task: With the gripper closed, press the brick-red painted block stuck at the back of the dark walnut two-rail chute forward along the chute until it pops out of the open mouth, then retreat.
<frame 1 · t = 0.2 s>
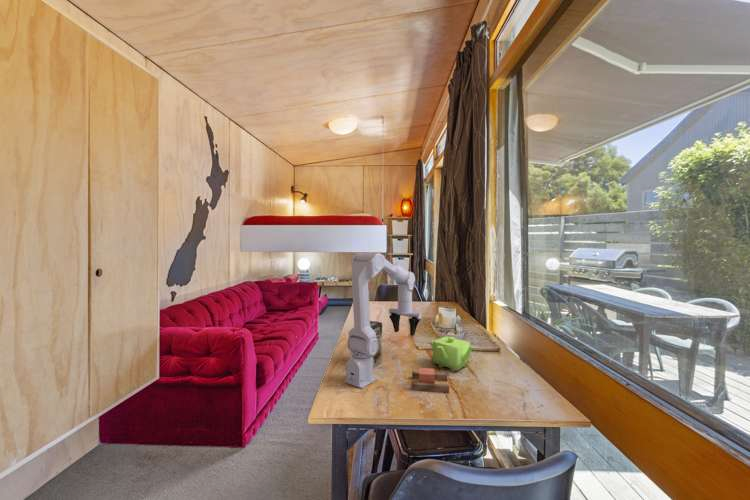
hand: (404, 333, 136), 10 cm above the table, fingers open, 7 cm apart
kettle: (450, 367, 127), on the table
block: (426, 377, 112), point 2 cm above the table, slide at 0.0 cm
coffee box: (369, 365, 129), on the table
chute: (426, 384, 112), on the table
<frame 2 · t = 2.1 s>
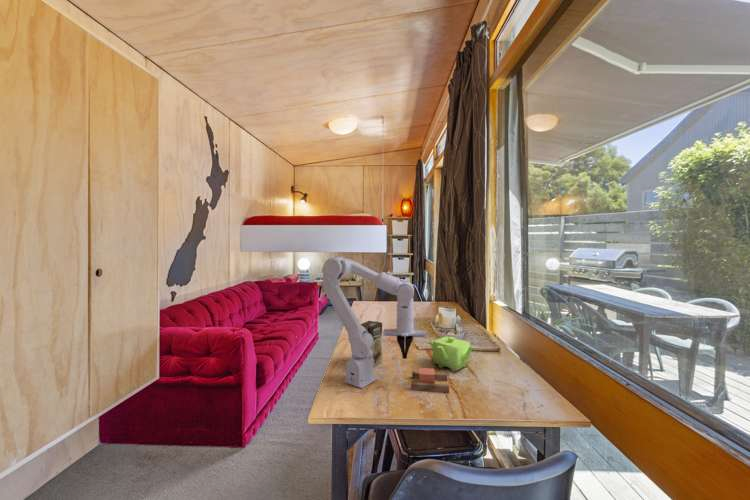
hand: (404, 357, 113), 9 cm above the table, fingers closed
nothing on the table moved.
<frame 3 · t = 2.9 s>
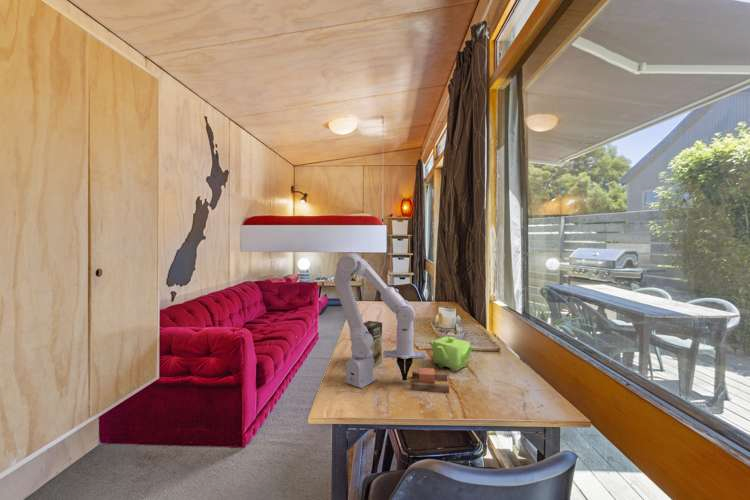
hand: (404, 379, 113), 1 cm above the table, fingers closed
nothing on the table moved.
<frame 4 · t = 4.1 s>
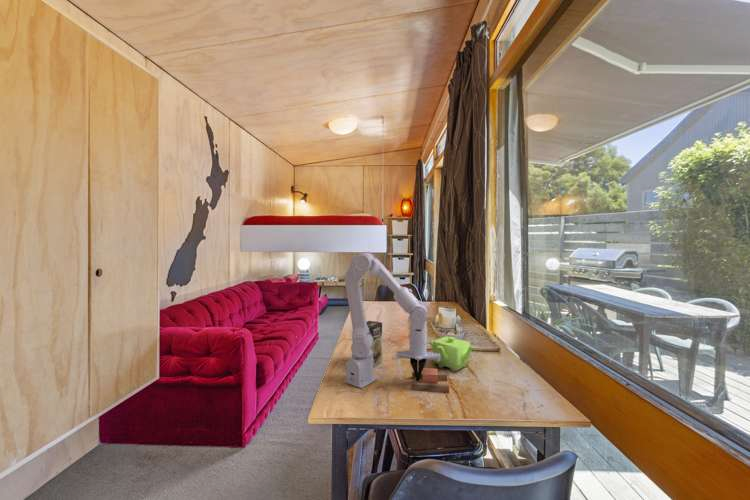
hand: (417, 380, 113), 1 cm above the table, fingers closed
block: (429, 377, 112), point 2 cm above the table, slide at 1.1 cm, touching gripper
everything else where it was.
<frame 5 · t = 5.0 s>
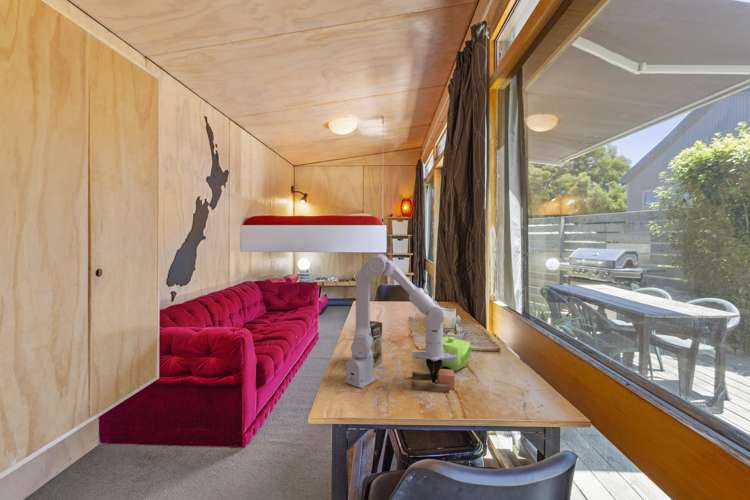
hand: (433, 381, 112), 1 cm above the table, fingers closed
block: (445, 378, 111), point 2 cm above the table, slide at 6.3 cm, touching gripper
everything else where it was.
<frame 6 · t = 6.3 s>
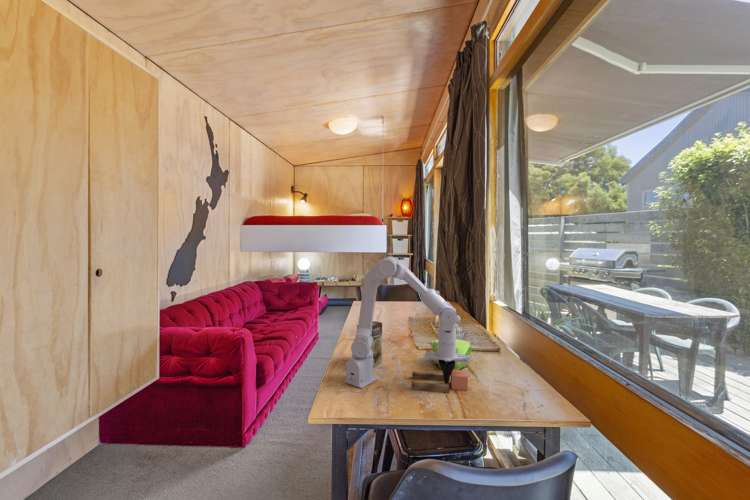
hand: (446, 382, 111), 1 cm above the table, fingers closed
block: (458, 379, 111), point 2 cm above the table, slide at 10.5 cm, touching gripper
everything else where it was.
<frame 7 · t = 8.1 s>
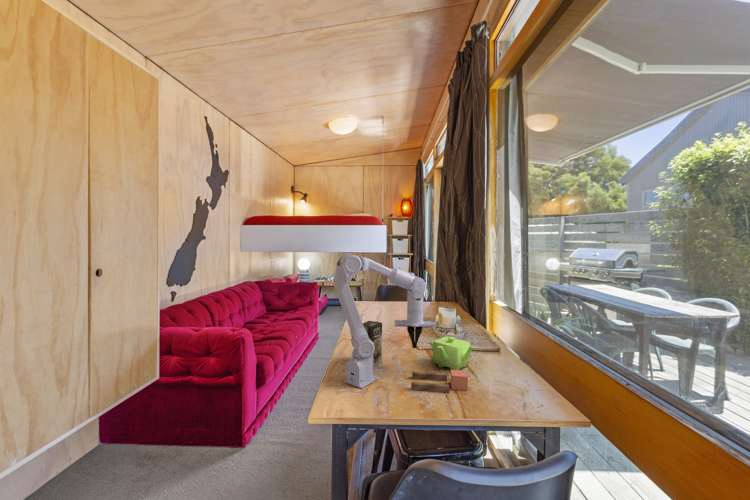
hand: (414, 347, 120), 10 cm above the table, fingers closed
block: (458, 379, 111), point 2 cm above the table, slide at 10.5 cm
everything else where it was.
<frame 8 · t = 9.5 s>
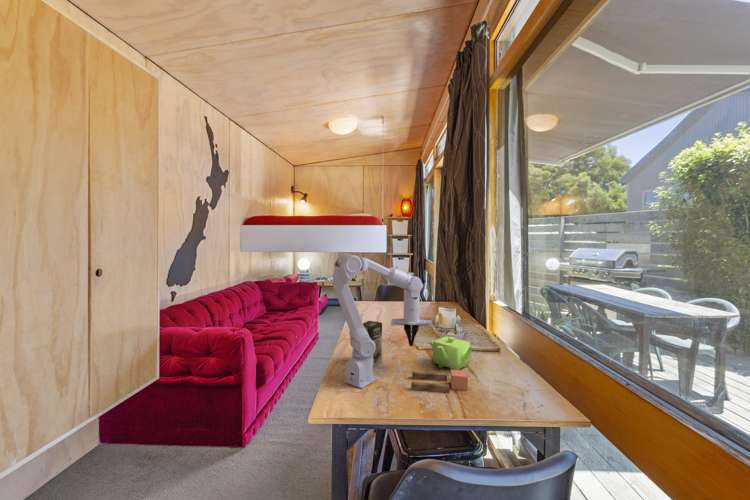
hand: (411, 345, 122), 10 cm above the table, fingers closed
nothing on the table moved.
at the end: block slide at 10.5 cm; block moved 10.5 cm from its start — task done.
